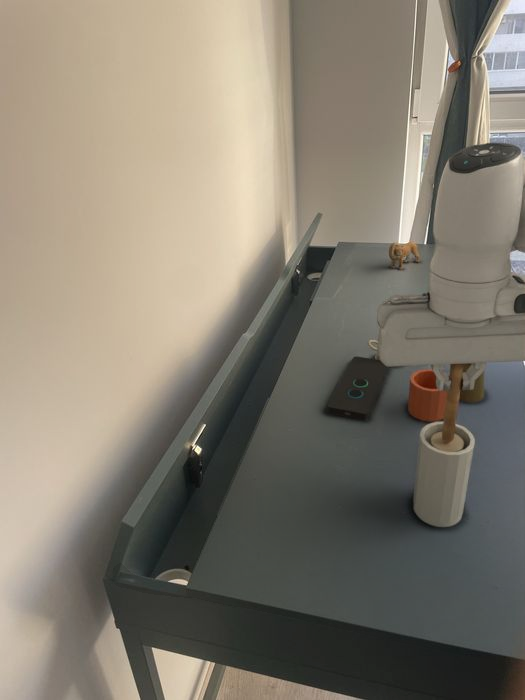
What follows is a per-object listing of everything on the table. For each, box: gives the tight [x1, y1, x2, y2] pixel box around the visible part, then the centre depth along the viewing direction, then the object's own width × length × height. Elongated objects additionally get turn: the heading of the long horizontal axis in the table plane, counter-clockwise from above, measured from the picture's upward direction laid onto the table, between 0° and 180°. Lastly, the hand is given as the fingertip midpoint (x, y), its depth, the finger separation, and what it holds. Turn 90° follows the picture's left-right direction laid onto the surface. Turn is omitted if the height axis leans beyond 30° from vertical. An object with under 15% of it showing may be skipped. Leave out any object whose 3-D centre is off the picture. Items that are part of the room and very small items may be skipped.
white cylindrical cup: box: [412, 420, 476, 528], centre depth 77 cm, size 7×7×14 cm
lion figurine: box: [388, 241, 420, 270], centre depth 164 cm, size 15×5×9 cm, turn 135°
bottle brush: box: [430, 364, 464, 452], centre depth 72 cm, size 4×4×22 cm
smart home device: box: [327, 355, 389, 421], centre depth 109 cm, size 8×2×20 cm
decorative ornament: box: [367, 339, 380, 360], centre depth 117 cm, size 4×8×5 cm, turn 75°
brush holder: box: [407, 368, 447, 423], centre depth 100 cm, size 7×7×7 cm
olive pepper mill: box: [459, 363, 485, 403], centre depth 103 cm, size 6×6×11 cm
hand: (454, 387), depth 69 cm, fingers closed on bottle brush
